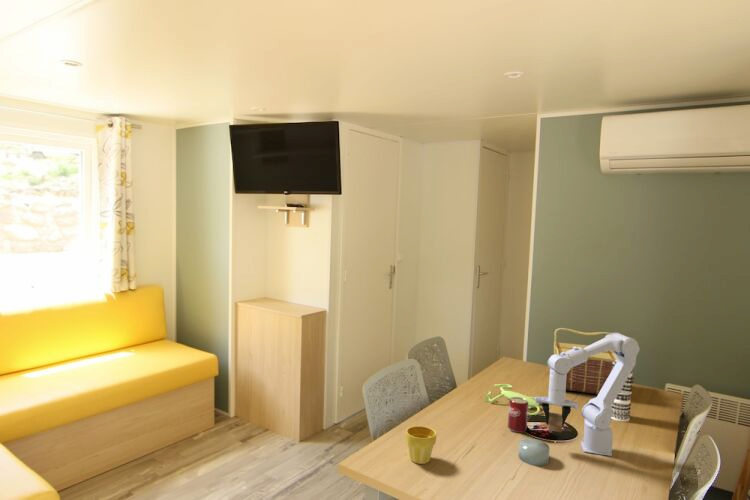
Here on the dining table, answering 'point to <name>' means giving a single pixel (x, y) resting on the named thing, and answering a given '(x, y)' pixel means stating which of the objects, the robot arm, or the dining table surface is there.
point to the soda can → (517, 414)
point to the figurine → (513, 394)
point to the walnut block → (555, 422)
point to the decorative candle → (622, 400)
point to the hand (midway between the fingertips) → (554, 424)
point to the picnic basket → (586, 366)
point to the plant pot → (420, 443)
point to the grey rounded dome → (534, 452)
